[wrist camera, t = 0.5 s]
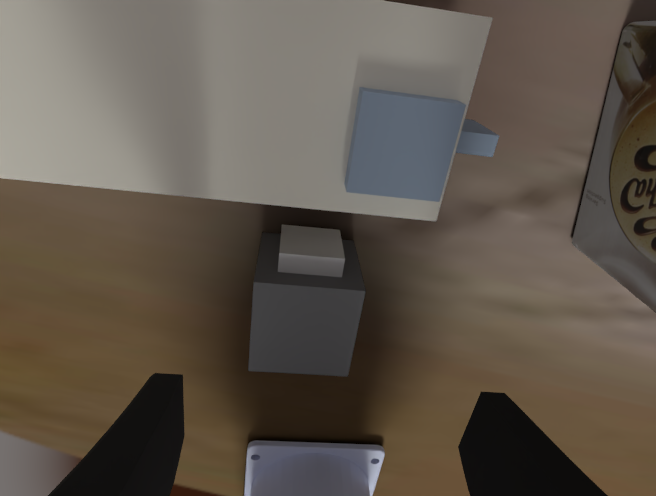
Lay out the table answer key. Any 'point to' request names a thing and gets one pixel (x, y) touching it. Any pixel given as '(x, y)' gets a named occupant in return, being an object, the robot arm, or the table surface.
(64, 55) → the socket box
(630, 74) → the coffee box
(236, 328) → the table surface
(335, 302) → the plug
